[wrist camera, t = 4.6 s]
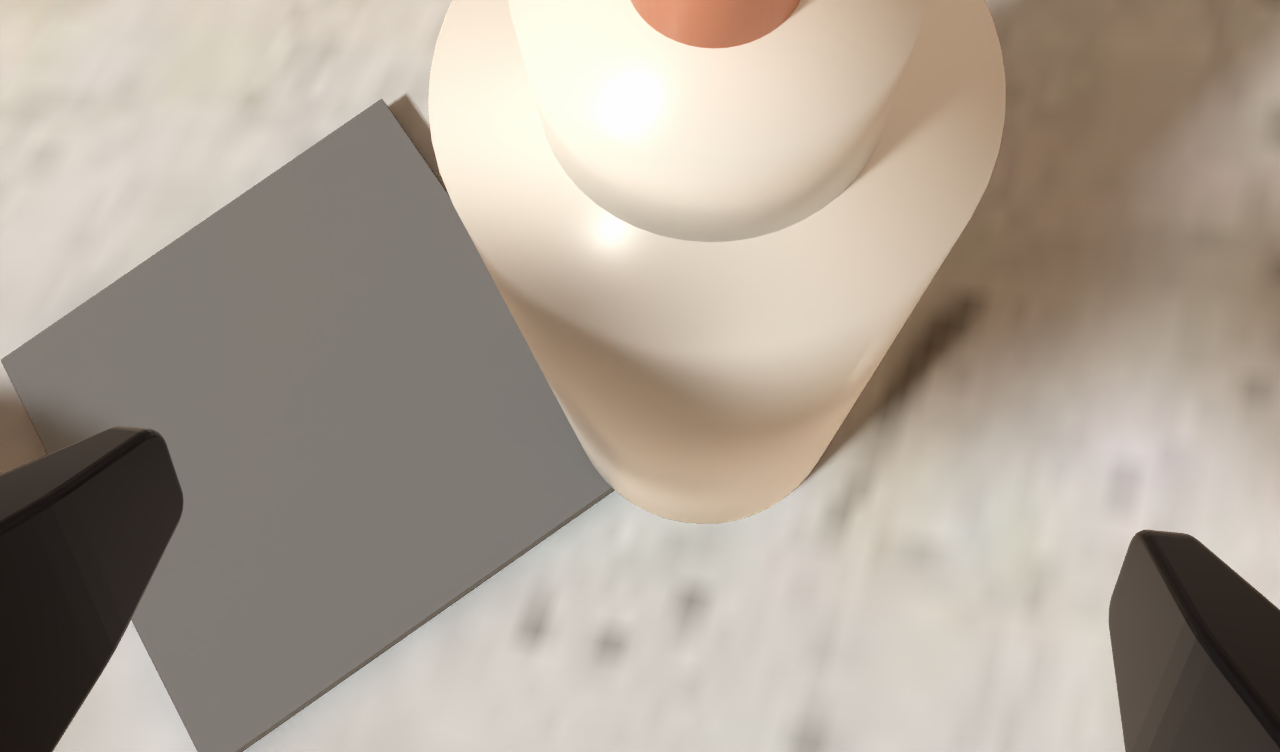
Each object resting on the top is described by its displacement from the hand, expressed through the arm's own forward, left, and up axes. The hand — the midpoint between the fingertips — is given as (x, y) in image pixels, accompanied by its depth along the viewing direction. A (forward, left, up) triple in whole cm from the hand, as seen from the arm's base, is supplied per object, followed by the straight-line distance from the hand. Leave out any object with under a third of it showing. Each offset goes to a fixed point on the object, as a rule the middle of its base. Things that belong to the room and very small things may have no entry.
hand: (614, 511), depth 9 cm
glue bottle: (+2, +3, -10) cm, 11 cm away
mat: (-5, +7, -10) cm, 13 cm away
